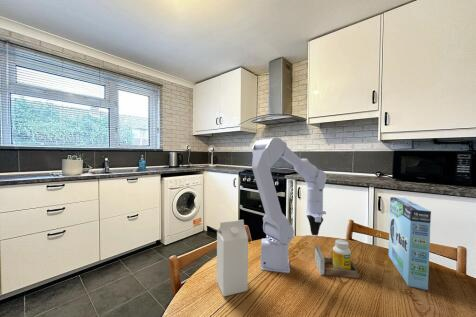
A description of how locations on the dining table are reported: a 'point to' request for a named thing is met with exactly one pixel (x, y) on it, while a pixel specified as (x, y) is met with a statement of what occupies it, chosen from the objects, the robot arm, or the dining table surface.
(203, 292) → the dining table surface
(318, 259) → the locking bar
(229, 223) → the milk carton
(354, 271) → the brown u-shaped frame
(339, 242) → the supplement bottle
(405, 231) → the gum box
